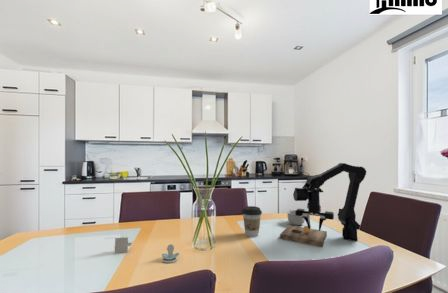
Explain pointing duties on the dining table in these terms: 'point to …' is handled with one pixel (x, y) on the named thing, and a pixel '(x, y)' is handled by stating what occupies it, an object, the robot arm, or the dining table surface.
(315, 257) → the dining table surface
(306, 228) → the ball
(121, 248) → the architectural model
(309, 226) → the robot arm
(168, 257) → the pacifier
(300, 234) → the pocket board
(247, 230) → the coffee cup
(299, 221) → the teacup
